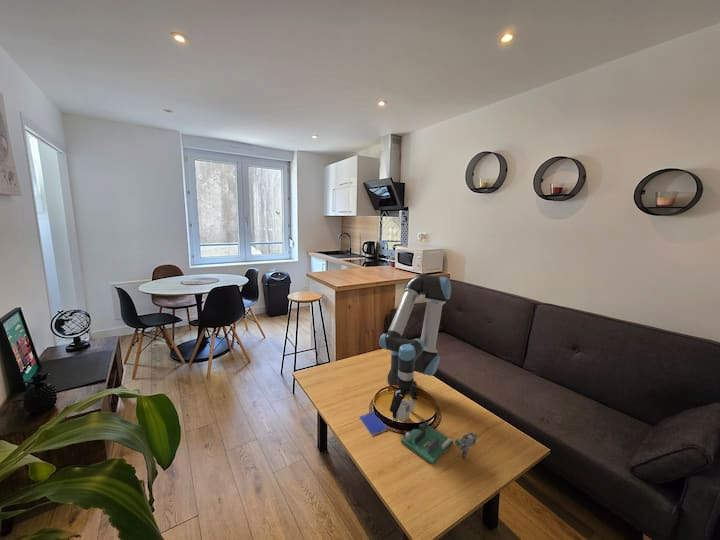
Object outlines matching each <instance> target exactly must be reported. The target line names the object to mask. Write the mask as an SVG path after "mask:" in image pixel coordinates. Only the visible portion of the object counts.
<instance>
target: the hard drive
mask: <svg viewBox="0 0 720 540" xmlns="http://www.w3.org/2000/svg"><path fill="white" fill-rule="evenodd" d="M374 412H375V411H372V412H369V413H365V414H363V415H360V416H359V419H360V422H362V424H363V426H364V427H365V426H366V427H365V428H366V430H367V431H368V433H370V435H371V436H375V435H378V434H380V433H382V432H385V431H387V430H388V428H387V426H386V424H384V423H383V421H382V420H381V418H380V417H379V416H378V415H377V414H376V415H377V416H378V417H379V418H378V417H377V416H376V415H375V413H376V412H375V413H374Z"/></svg>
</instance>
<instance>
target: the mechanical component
mask: <svg viewBox="0 0 720 540" xmlns="http://www.w3.org/2000/svg"><path fill="white" fill-rule="evenodd" d="M477 441H478V435H477V434H476V433H474V432H469V433H466V434H463V435H462V437H461V439H456V440H455V441H454V444H455V446H456V447H457V448H458V449H459V450H460V451H462V455H461V457H462V458H463V460H466V459H467V456H468V455H467V454H468V452H469V448H470V447H473V446H476V444H477Z"/></svg>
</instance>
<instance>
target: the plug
mask: <svg viewBox="0 0 720 540" xmlns="http://www.w3.org/2000/svg"><path fill="white" fill-rule="evenodd" d="M410 411H411V410H410V403H409V401H407V400H406V399H403V400H402V402H401V404H400V407H399V409H398V412H399V415H398V419H399V420H401V419H402V420H401V421H403V420H404V421H403V422H405V420H406V419H407V420H409V418H410V413H411V412H410ZM407 420H406V421H407Z"/></svg>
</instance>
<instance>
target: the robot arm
mask: <svg viewBox="0 0 720 540" xmlns="http://www.w3.org/2000/svg"><path fill="white" fill-rule="evenodd" d="M402 294H403V295H402V297H401V298H400V299H401V300H400V302H399V304H398V307H397V308H396V312H395V314H394V316H393V319H392V321H391V324H390V325H389V328H388V331H387V333H382V334H381V335H380V337H379V341H378V345H379V347H380V348H382V349H384V350H386V351H390V355H391V356H390V369H389V371H388V374H387V378H386V379H387V380H386V381H387V384H388V385H389V386H391V385H398V386H399V389H398V388H397V390H394V391H393V397H392V401H391V403H390V404H391V405H390V407H389V411H390V413H391V414H392V421H393V420H395V421H398V422H399V418H398V415H399V412H398V409H399V407H400V404H401V402H402V400H405V397H406V396H408V395H409V398H408V400H409V401H408V402H409V403H410V411H411V412H412V413H414V412H415V403H416V400H418V398H417V397H418V396H419V394H418V390H417V382H416V381H414V379H415V372H416V373H419V374H423V375H424V376H425V375H426V376H430V377H431V376H434V374H435V373H436V371H437V369H438V367H439V365H440V361H441V356H440V355H438V350H437V348H436V346H437V341H438V334H439V328H440V324H441V323H440V322H441V317H442V310H443V305H445V304H446V303H447V300H450V298H451V295H452V283H451V280H450V279H449V278H448V277H444V276H437V275H429V274H426V273H425V274H424V273H422V274H417V275H415V276H414V277H411V279H409V280H408V281H407V283H406V284H405V286H404V287H403V290H402ZM421 295H423V296H424V299H425V301H426V306H425V311H424V316H423V317H424V319H423V323H422V331H421V333H420V334H421V336H420V339H419V338H414V339H412V340H411V339H406V338H403V337H402V336H403V334H404V331H405V328H406V326H407V324H408V321H409V318H410V316H411V313H412V312H413V308H414V306H415V303H416V301H417V300H419V298H420V297H421Z"/></svg>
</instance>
